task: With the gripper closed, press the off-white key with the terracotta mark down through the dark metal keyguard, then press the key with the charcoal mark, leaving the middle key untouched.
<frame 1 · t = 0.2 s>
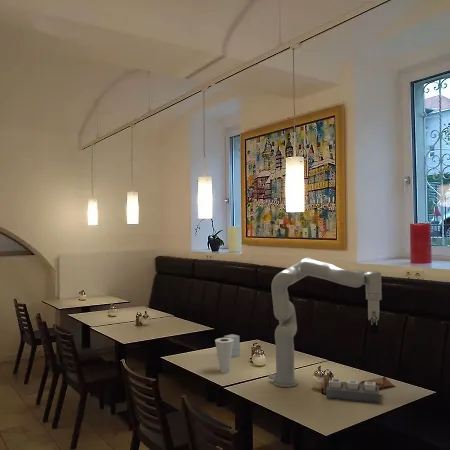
hand: (374, 330, 248), 30 cm above the table, tool pointing down, fingers open, 9 cm apart
key mid: (352, 385, 243), point 5 cm above the table, slide at 0.0 cm
sunglasses case: (377, 388, 256), on the table
cup: (224, 372, 285), on the table
supplement box: (231, 356, 318), on the table
keyguard: (353, 396, 243), on the table
key right: (370, 387, 240), point 5 cm above the table, slide at 0.0 cm
key left: (336, 384, 245), point 5 cm above the table, slide at 0.0 cm
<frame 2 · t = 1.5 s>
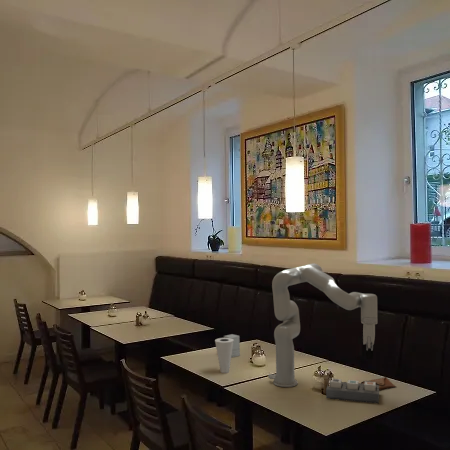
hand: (369, 358, 240), 19 cm above the table, tool pointing down, fingers closed
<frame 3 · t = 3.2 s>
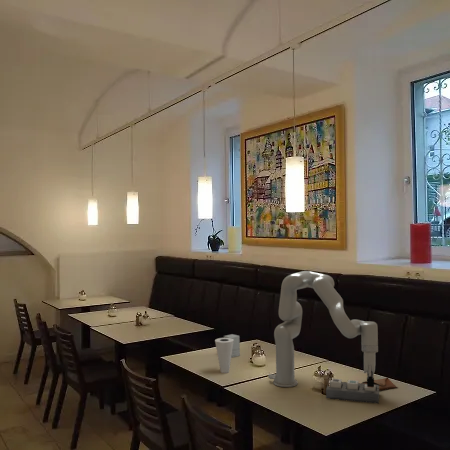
hand: (370, 386, 240), 6 cm above the table, tool pointing down, fingers closed
key right: (370, 390, 240), point 4 cm above the table, slide at 1.5 cm, touching gripper
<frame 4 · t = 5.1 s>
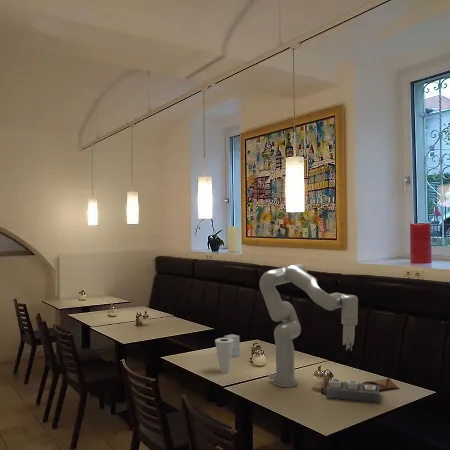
hand: (348, 358, 243), 18 cm above the table, tool pointing down, fingers closed
key right: (370, 391, 240), point 3 cm above the table, slide at 1.8 cm
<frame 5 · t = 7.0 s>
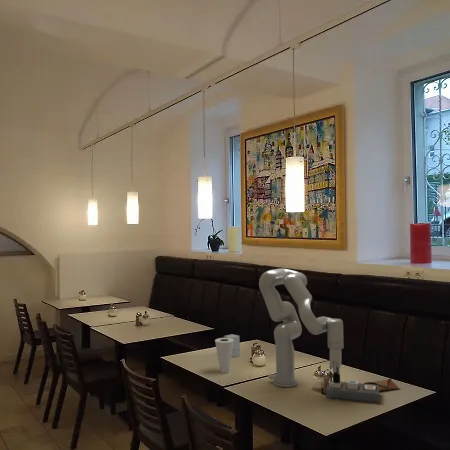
hand: (336, 382, 245), 6 cm above the table, tool pointing down, fingers closed
key left: (336, 386, 245), point 4 cm above the table, slide at 0.8 cm, touching gripper
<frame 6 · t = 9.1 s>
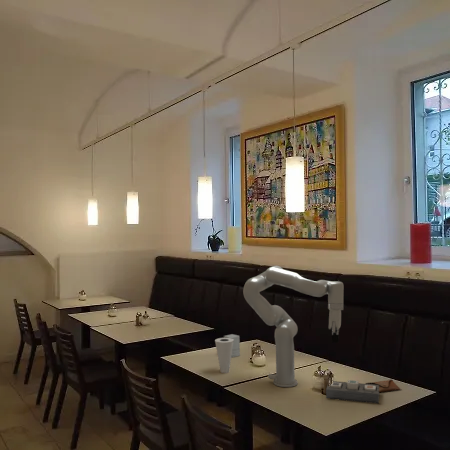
hand: (335, 342, 253), 24 cm above the table, tool pointing down, fingers closed
key left: (336, 388, 245), point 3 cm above the table, slide at 1.8 cm
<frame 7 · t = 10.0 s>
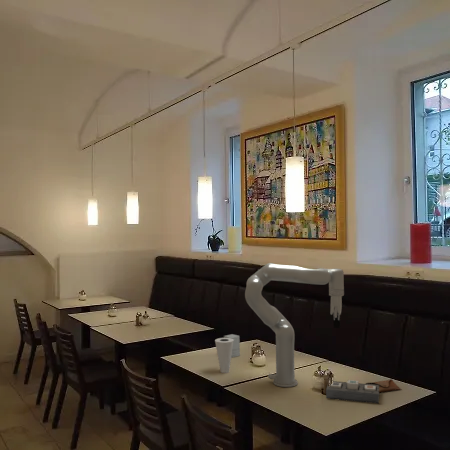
hand: (336, 327, 262), 29 cm above the table, tool pointing down, fingers closed
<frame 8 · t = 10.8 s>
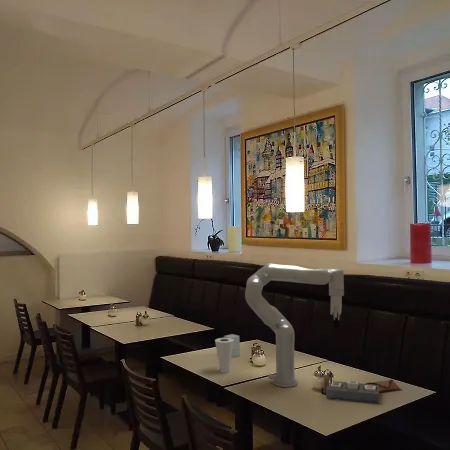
hand: (336, 327, 262), 29 cm above the table, tool pointing down, fingers closed
at the end: key right slide at 1.8 cm; key left slide at 1.8 cm; key mid slide at 0.0 cm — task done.
